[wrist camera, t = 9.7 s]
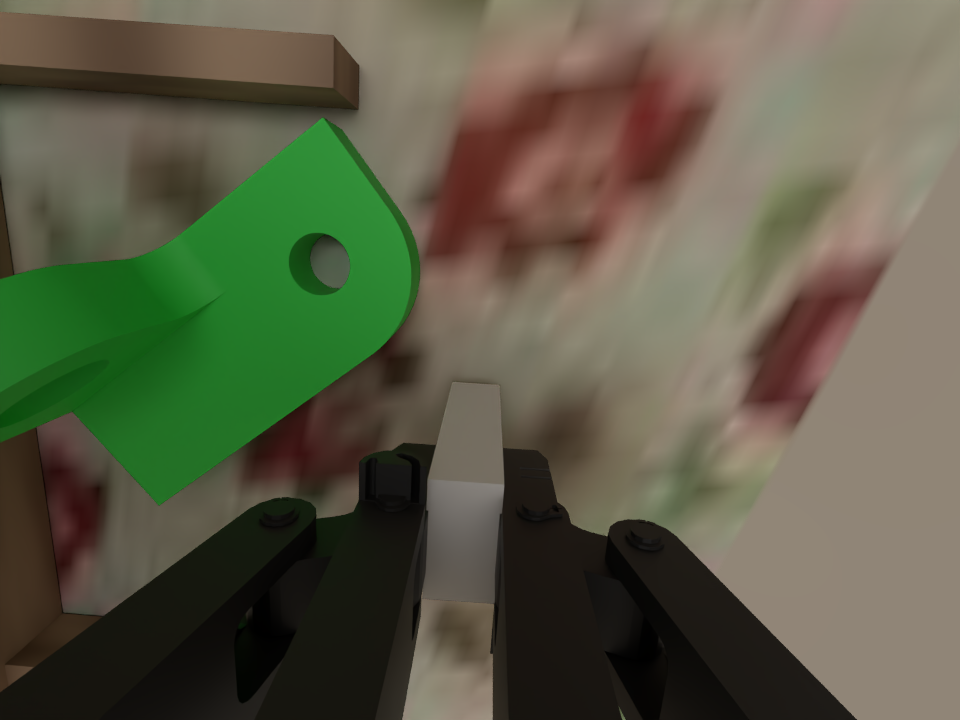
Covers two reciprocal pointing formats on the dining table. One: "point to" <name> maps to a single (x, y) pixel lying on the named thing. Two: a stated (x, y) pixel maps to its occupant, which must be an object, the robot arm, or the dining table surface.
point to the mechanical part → (212, 318)
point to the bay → (16, 61)
